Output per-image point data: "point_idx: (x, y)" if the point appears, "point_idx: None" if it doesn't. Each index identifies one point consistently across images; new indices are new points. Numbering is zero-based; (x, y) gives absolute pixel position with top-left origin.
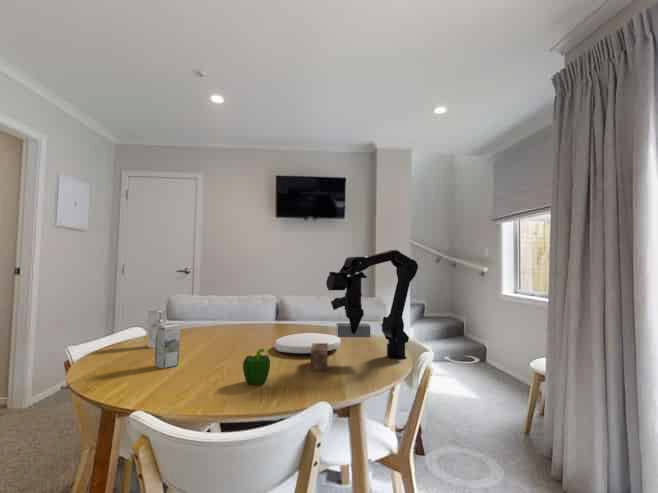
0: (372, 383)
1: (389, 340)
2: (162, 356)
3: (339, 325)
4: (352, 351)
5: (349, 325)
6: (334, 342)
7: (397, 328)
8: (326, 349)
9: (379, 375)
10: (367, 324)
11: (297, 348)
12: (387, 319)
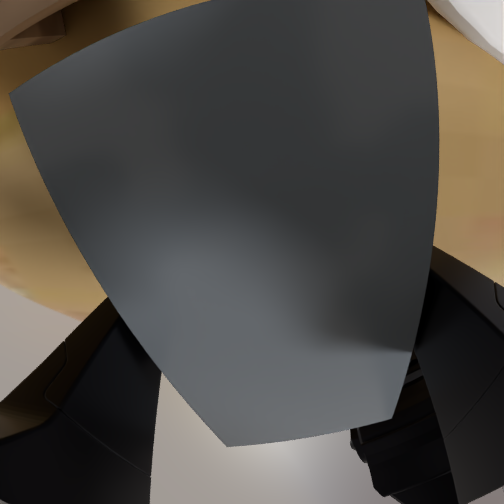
0: (9, 258)
1: (415, 361)
2: None
3: (80, 99)
4: (487, 138)
5: (178, 299)
6: (483, 26)
7: (360, 458)
8: (5, 25)
9: (90, 277)
10: (331, 428)
11: None
12: (427, 469)
